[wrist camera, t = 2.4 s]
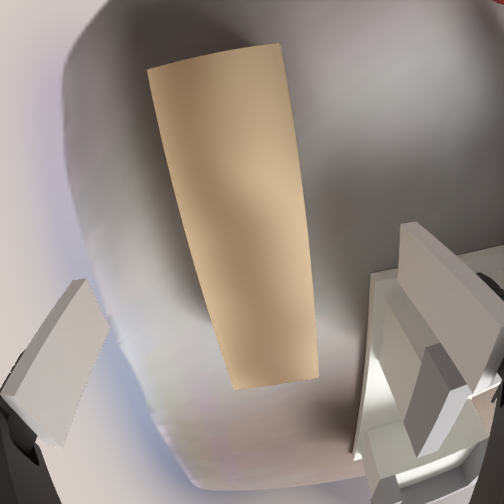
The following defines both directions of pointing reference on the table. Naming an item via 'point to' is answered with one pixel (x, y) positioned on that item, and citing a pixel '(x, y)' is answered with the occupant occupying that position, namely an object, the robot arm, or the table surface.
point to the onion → (499, 1)
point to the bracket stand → (417, 399)
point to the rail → (242, 207)
